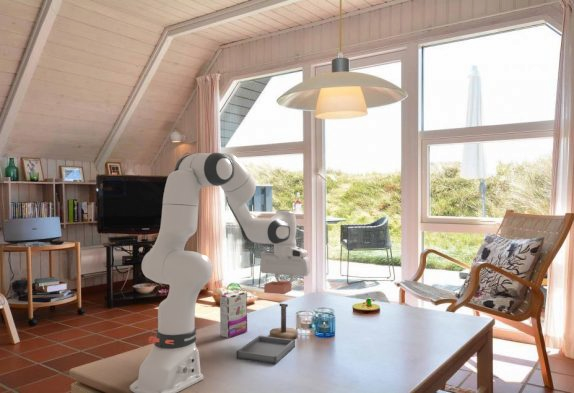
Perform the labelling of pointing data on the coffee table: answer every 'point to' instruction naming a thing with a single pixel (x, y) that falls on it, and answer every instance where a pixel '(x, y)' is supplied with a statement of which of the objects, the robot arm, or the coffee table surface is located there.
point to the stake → (283, 327)
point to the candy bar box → (233, 314)
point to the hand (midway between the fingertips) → (284, 285)
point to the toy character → (368, 302)
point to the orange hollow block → (278, 287)
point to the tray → (266, 349)
